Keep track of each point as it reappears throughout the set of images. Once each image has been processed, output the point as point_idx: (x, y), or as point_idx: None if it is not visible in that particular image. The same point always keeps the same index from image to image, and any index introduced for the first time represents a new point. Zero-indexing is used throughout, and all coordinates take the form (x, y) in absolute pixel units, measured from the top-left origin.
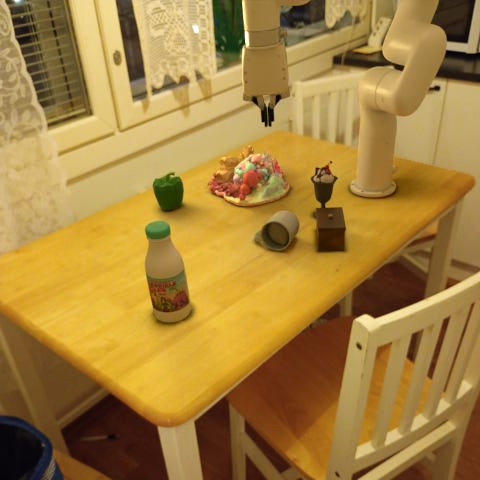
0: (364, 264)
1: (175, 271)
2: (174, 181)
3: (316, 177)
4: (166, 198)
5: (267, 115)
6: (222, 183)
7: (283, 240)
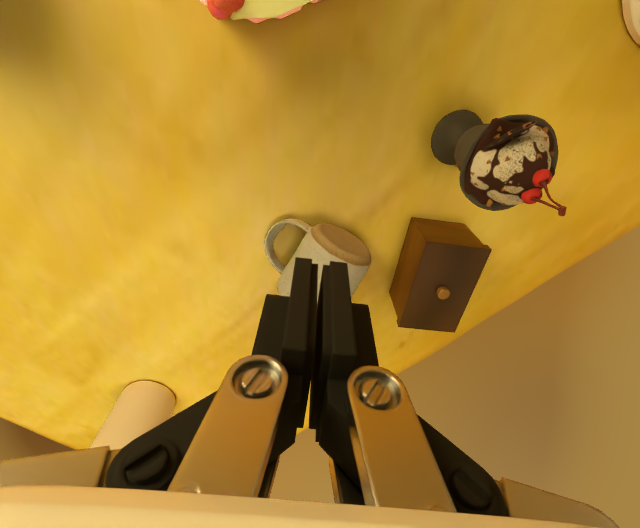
0: (451, 337)
1: None
2: None
3: (482, 177)
4: None
5: (316, 298)
6: None
7: None
